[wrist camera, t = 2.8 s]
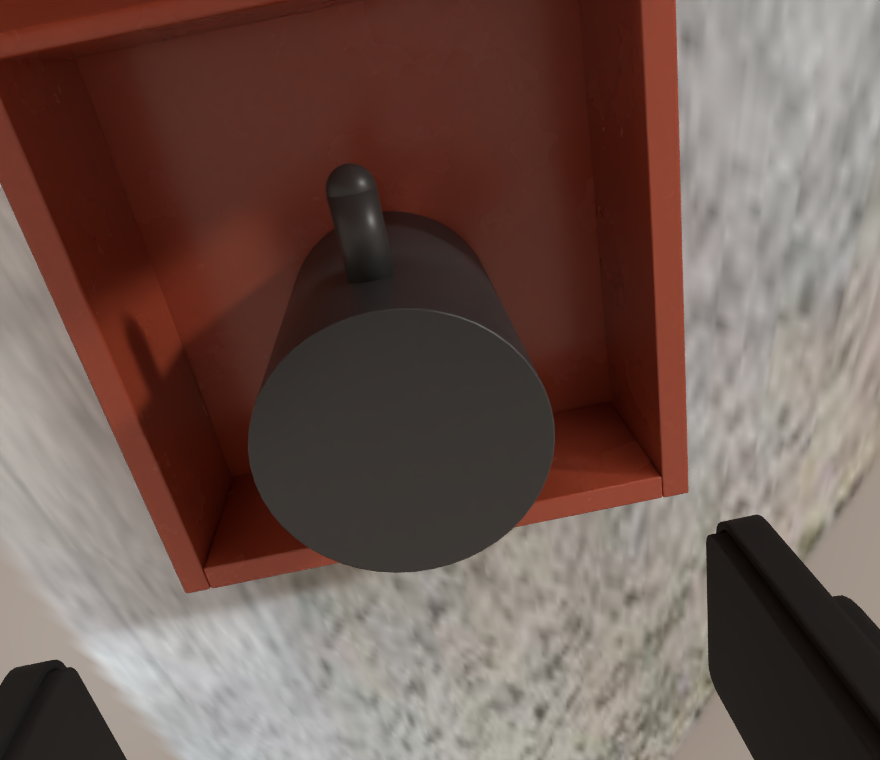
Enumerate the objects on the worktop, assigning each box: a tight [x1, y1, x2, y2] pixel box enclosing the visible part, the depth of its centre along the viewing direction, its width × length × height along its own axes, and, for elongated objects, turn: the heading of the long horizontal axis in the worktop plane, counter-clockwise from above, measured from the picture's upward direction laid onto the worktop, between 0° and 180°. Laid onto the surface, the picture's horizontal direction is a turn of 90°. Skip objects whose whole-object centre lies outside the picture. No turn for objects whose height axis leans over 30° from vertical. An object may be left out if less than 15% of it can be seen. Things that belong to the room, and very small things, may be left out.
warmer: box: [0, 0, 688, 593], centre depth 20 cm, size 16×16×6 cm
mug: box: [248, 163, 555, 573], centre depth 18 cm, size 9×7×9 cm
